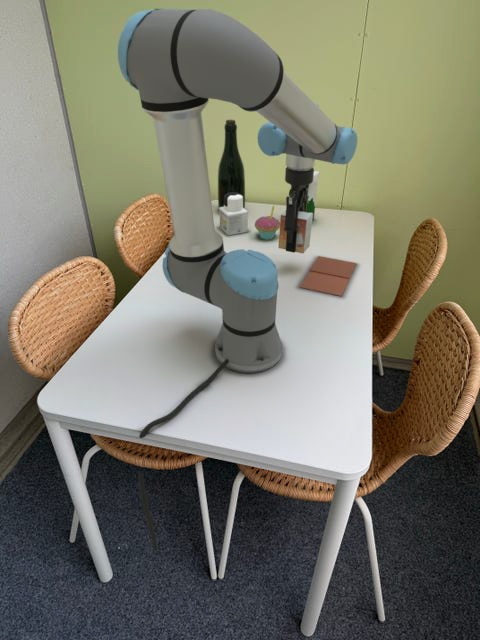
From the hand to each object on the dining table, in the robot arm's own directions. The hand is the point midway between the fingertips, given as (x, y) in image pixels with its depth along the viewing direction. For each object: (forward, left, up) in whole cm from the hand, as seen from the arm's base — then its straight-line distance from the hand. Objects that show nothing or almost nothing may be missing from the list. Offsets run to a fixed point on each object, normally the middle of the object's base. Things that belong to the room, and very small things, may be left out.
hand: (293, 246), depth 130 cm
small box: (0, 0, -1) cm, 1 cm away
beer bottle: (+35, +36, -7) cm, 51 cm away
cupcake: (+18, +15, -7) cm, 25 cm away
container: (+19, +28, -7) cm, 35 cm away
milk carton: (+36, +8, -7) cm, 38 cm away
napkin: (0, -11, -7) cm, 14 cm away
